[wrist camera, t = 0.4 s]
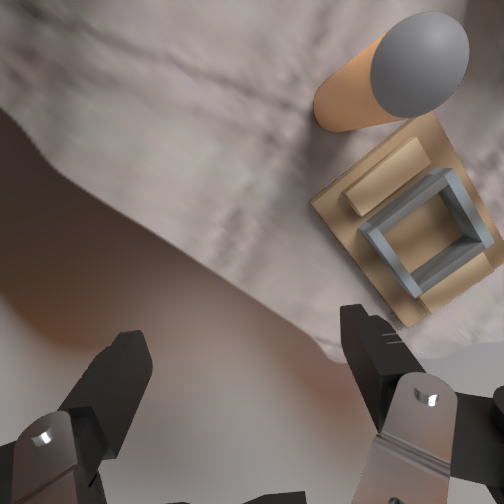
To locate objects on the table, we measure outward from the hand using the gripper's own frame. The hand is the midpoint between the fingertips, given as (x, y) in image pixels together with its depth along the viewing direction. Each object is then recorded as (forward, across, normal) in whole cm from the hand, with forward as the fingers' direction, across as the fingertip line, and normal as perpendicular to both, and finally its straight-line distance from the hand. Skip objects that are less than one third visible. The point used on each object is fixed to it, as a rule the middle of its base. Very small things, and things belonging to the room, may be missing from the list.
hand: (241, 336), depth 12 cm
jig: (+21, -18, +5) cm, 28 cm away
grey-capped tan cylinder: (+21, -10, -9) cm, 25 cm away
